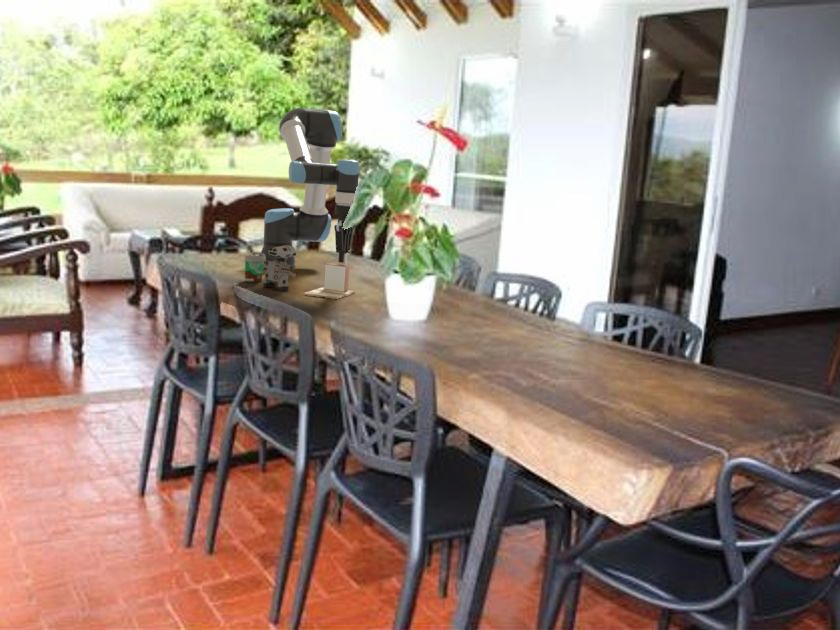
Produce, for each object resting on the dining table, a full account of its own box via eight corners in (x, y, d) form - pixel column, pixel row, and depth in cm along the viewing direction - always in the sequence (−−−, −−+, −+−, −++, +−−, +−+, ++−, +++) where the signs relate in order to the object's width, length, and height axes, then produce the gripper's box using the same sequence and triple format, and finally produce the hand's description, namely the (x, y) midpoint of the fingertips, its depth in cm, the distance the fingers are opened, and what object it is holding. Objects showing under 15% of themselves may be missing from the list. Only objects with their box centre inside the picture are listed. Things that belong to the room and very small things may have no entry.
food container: (261, 285, 298) (262, 257, 296) (243, 283, 298) (245, 255, 296) (268, 279, 310) (269, 252, 308) (251, 278, 310) (252, 251, 308)
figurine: (301, 289, 296) (303, 247, 293) (275, 291, 287) (277, 248, 284) (285, 285, 302) (287, 243, 299) (259, 287, 293) (261, 244, 290)
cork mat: (323, 288, 300) (323, 286, 300) (354, 293, 297) (354, 291, 296) (303, 295, 285) (303, 292, 285) (336, 299, 282) (336, 297, 281)
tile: (327, 288, 298) (328, 263, 296) (347, 290, 296) (349, 265, 294) (323, 289, 295) (324, 263, 293) (344, 292, 293) (345, 266, 291)
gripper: (348, 206, 286) (344, 274, 291) (363, 205, 298) (358, 270, 303) (328, 204, 288) (324, 272, 293) (343, 203, 301) (339, 268, 305)
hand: (341, 271), depth 298 cm, fingers closed
